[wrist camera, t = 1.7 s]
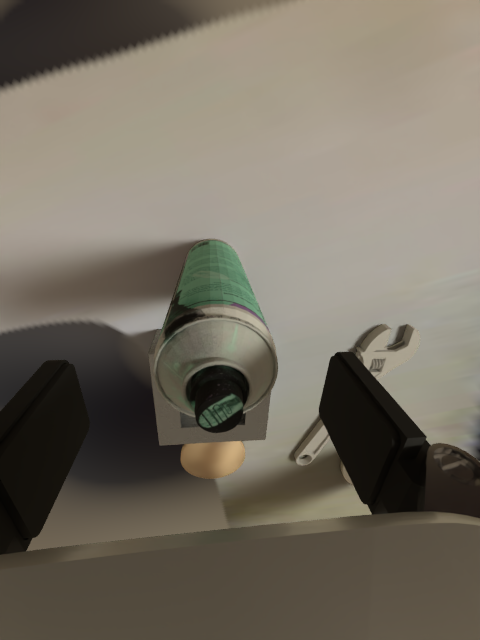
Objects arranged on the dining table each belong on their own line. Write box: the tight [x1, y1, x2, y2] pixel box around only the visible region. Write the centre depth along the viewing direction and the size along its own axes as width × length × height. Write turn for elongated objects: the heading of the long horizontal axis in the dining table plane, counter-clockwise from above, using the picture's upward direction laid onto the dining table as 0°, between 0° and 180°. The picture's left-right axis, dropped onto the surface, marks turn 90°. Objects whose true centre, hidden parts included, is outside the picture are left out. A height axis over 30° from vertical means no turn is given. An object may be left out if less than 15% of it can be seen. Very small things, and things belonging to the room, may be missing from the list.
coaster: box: [181, 441, 245, 479], centre depth 39 cm, size 9×9×1 cm
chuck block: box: [148, 329, 271, 445], centre depth 31 cm, size 12×12×5 cm
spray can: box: [153, 239, 278, 433], centre depth 18 cm, size 6×6×20 cm
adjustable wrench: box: [294, 324, 420, 466], centre depth 36 cm, size 25×6×2 cm, turn 150°
